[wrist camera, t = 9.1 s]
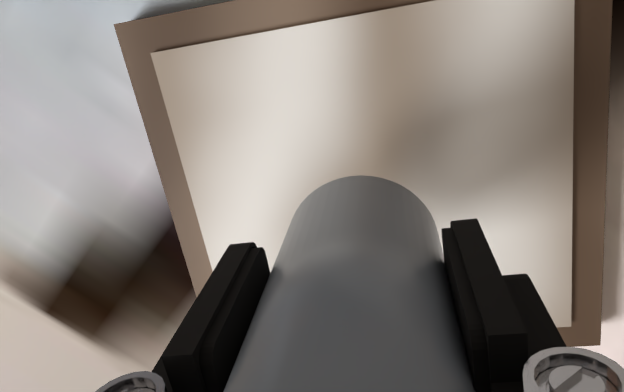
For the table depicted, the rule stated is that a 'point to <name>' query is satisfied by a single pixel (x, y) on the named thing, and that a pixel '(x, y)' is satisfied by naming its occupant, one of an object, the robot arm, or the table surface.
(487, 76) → the board
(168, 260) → the table surface
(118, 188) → the table surface
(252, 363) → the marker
